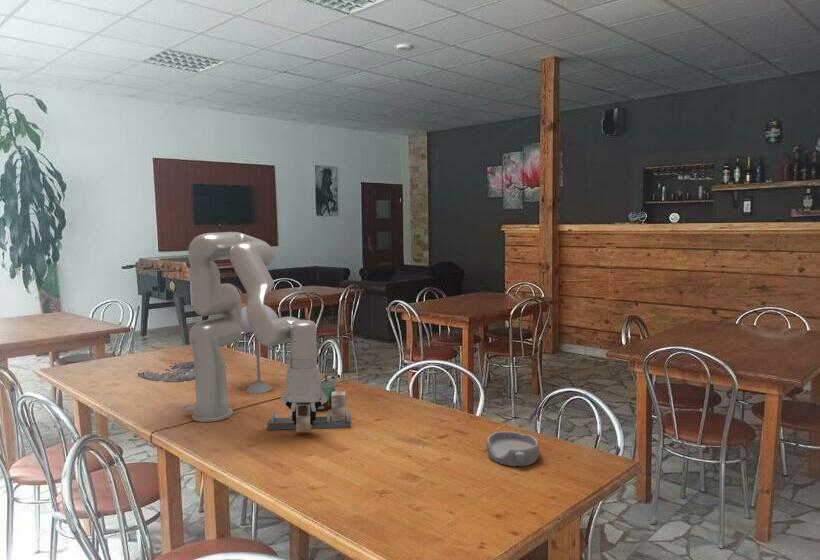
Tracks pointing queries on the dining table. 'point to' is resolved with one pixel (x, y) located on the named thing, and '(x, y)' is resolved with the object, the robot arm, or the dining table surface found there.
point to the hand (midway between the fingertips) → (304, 422)
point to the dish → (512, 448)
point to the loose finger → (303, 417)
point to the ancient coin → (182, 373)
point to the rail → (319, 423)
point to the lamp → (257, 351)
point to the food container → (327, 390)
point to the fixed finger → (338, 405)
